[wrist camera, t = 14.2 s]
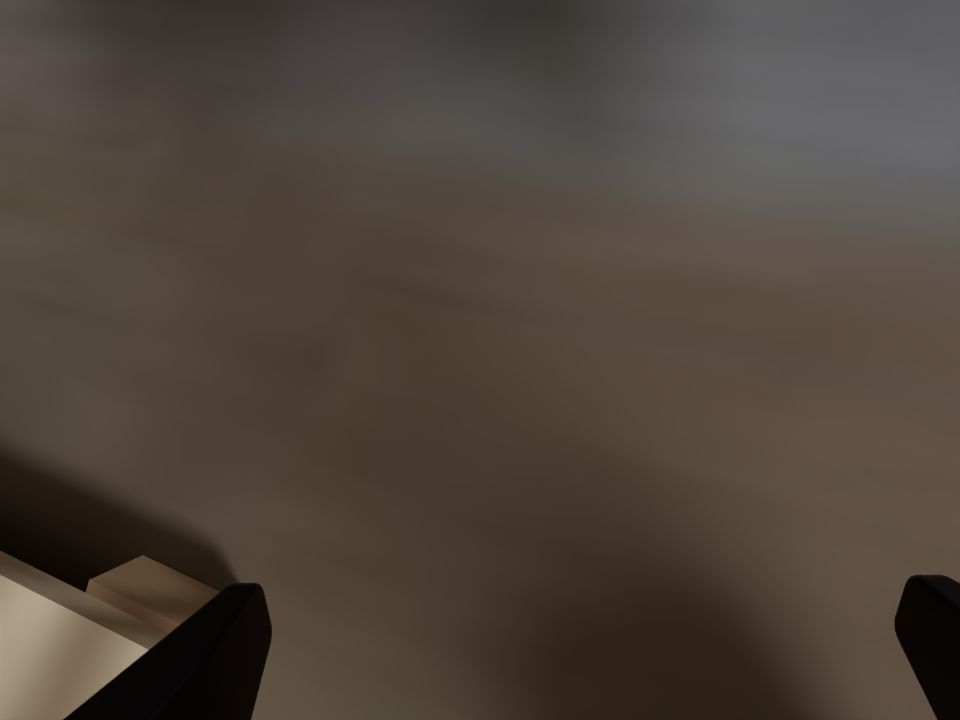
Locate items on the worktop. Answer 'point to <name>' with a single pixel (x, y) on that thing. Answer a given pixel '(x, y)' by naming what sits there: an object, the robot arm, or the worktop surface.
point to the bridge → (82, 631)
